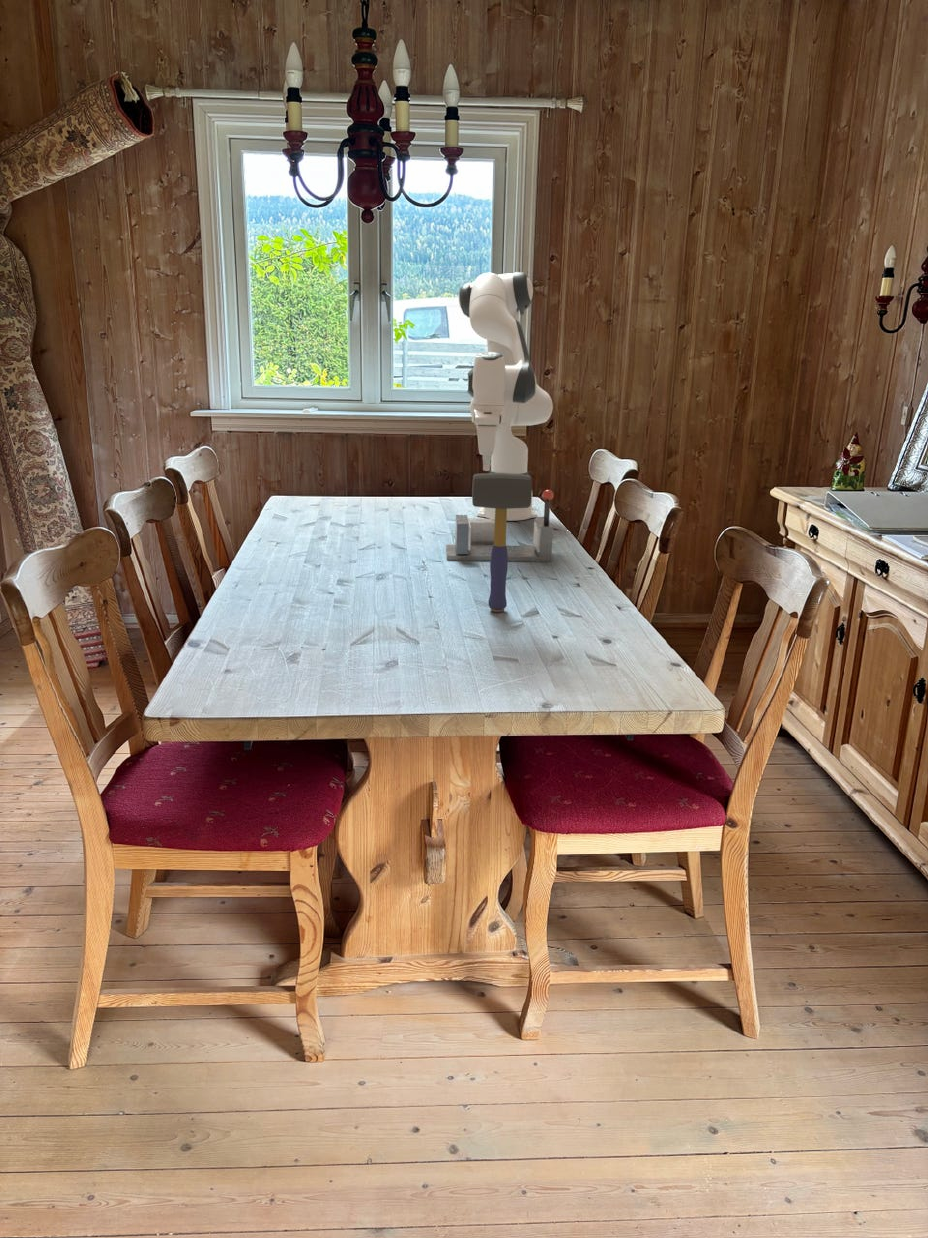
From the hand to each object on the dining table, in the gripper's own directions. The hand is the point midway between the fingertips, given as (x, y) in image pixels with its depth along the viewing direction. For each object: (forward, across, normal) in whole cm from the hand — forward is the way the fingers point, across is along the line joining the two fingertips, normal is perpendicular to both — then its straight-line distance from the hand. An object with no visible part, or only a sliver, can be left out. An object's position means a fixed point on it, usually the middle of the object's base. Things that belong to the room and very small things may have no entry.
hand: (487, 468), depth 263 cm
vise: (+22, +10, +4) cm, 24 cm away
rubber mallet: (+23, +60, +5) cm, 64 cm away
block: (+21, 0, -1) cm, 21 cm away
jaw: (+20, +11, -6) cm, 24 cm away
